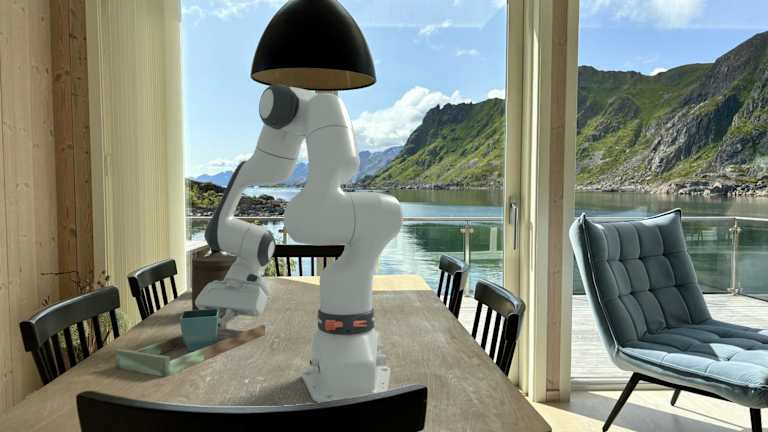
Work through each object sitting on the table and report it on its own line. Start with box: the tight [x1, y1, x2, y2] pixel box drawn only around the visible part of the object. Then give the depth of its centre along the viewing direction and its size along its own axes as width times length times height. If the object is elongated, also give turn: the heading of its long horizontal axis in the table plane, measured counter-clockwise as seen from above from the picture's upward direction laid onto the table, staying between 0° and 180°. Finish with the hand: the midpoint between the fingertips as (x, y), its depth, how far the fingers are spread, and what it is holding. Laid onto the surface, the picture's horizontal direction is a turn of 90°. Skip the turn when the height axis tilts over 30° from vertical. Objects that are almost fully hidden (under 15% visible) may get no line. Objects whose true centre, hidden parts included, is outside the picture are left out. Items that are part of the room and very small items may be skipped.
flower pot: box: [179, 309, 219, 353], centre depth 132 cm, size 9×9×9 cm
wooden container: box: [191, 248, 237, 318], centre depth 169 cm, size 15×15×22 cm
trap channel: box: [115, 323, 266, 378], centre depth 131 cm, size 36×14×4 cm, turn 157°
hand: (217, 325), depth 137 cm, fingers closed
